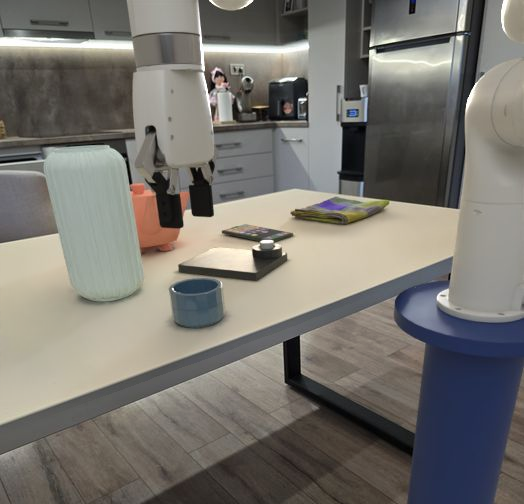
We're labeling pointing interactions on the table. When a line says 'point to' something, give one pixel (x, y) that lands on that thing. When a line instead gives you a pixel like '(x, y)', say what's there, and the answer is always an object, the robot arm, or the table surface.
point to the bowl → (197, 302)
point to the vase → (95, 221)
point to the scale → (235, 262)
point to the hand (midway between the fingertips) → (188, 220)
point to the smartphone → (257, 233)
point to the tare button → (266, 244)
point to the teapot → (152, 219)
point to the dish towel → (340, 210)
